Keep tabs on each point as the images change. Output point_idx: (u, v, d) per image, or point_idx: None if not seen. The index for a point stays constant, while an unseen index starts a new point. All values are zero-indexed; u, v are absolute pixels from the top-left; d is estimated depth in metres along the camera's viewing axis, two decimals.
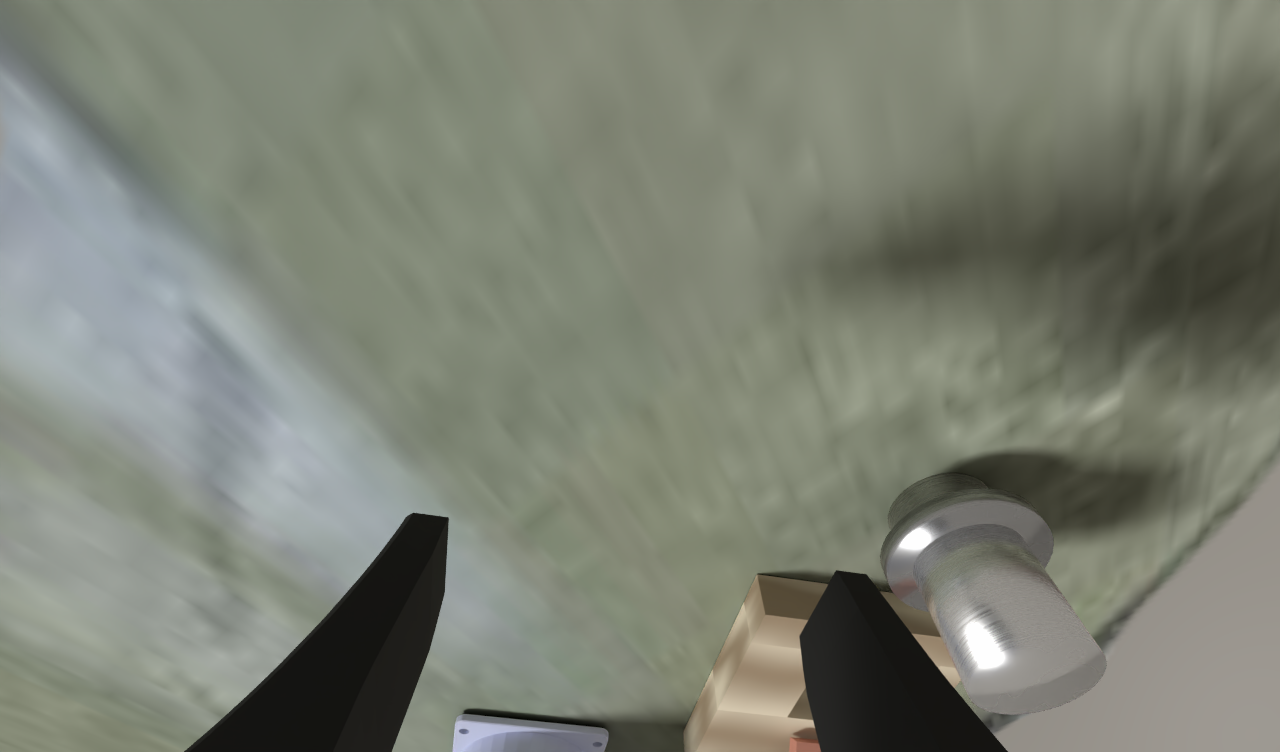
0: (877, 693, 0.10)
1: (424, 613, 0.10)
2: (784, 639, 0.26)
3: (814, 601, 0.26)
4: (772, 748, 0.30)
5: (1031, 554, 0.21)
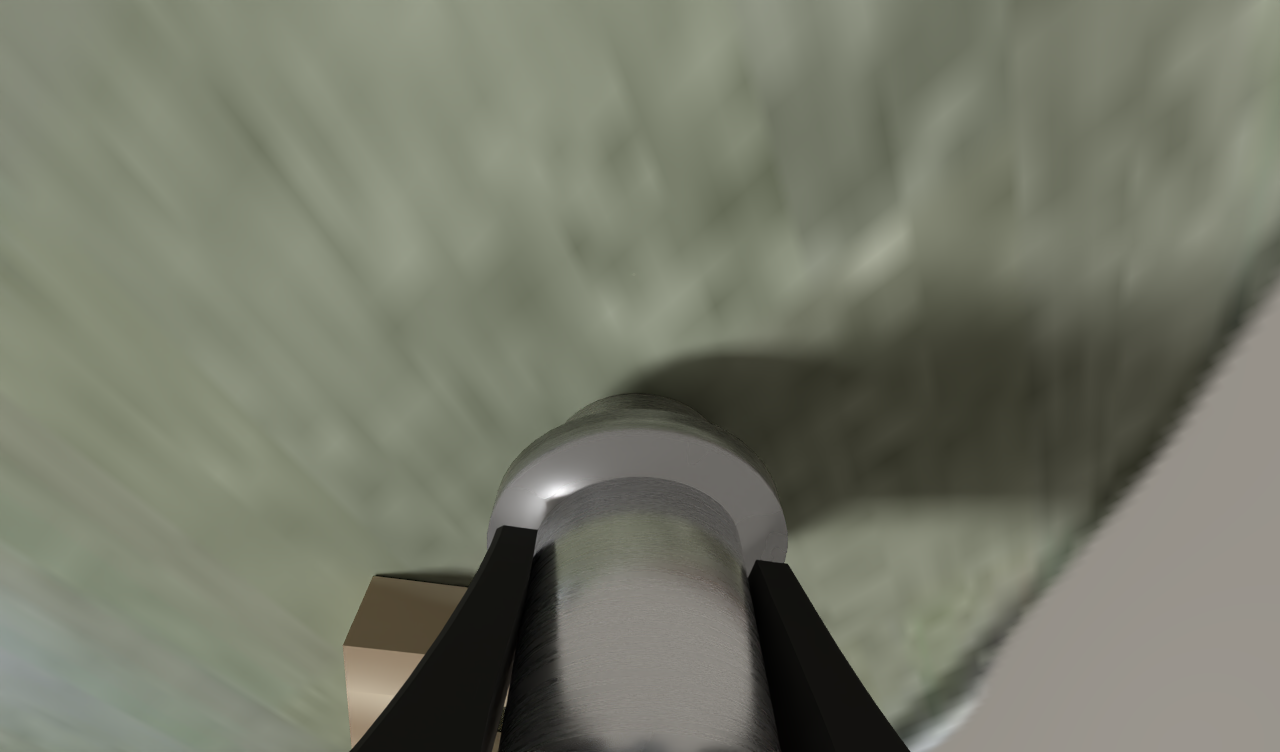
0: (783, 682, 0.09)
1: (519, 624, 0.10)
2: (400, 685, 0.15)
3: None
4: None
5: (705, 535, 0.10)
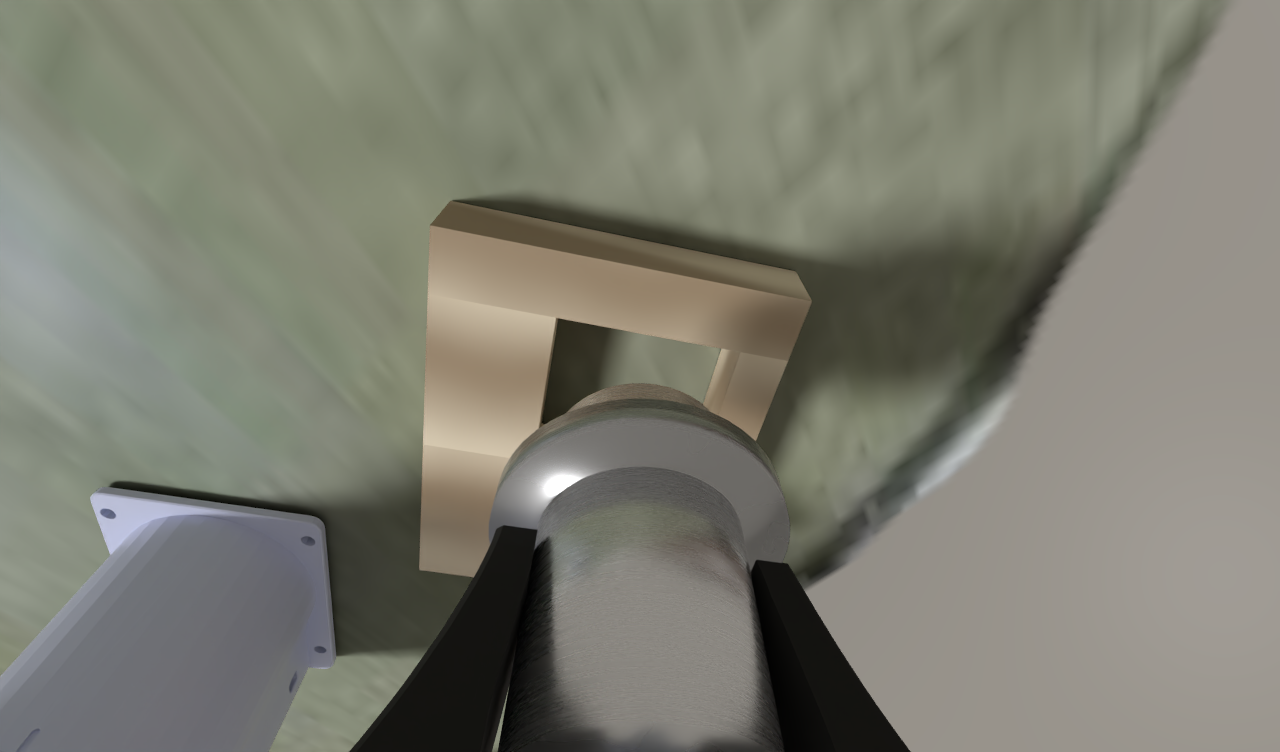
0: (783, 682, 0.09)
1: (519, 624, 0.10)
2: (479, 286, 0.16)
3: (531, 230, 0.16)
4: None
5: (707, 524, 0.10)
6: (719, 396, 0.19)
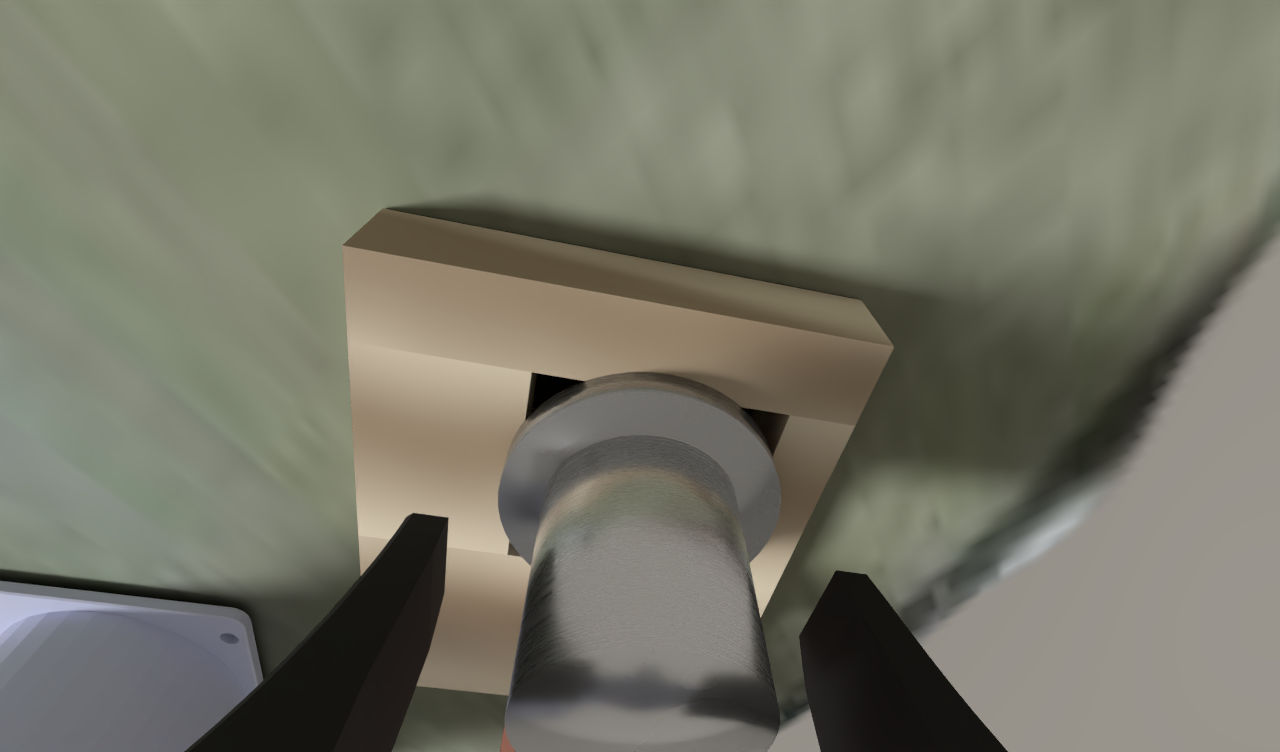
0: (877, 693, 0.10)
1: (424, 613, 0.10)
2: (420, 331, 0.11)
3: (494, 250, 0.12)
4: (506, 629, 0.16)
5: (703, 486, 0.11)
6: None
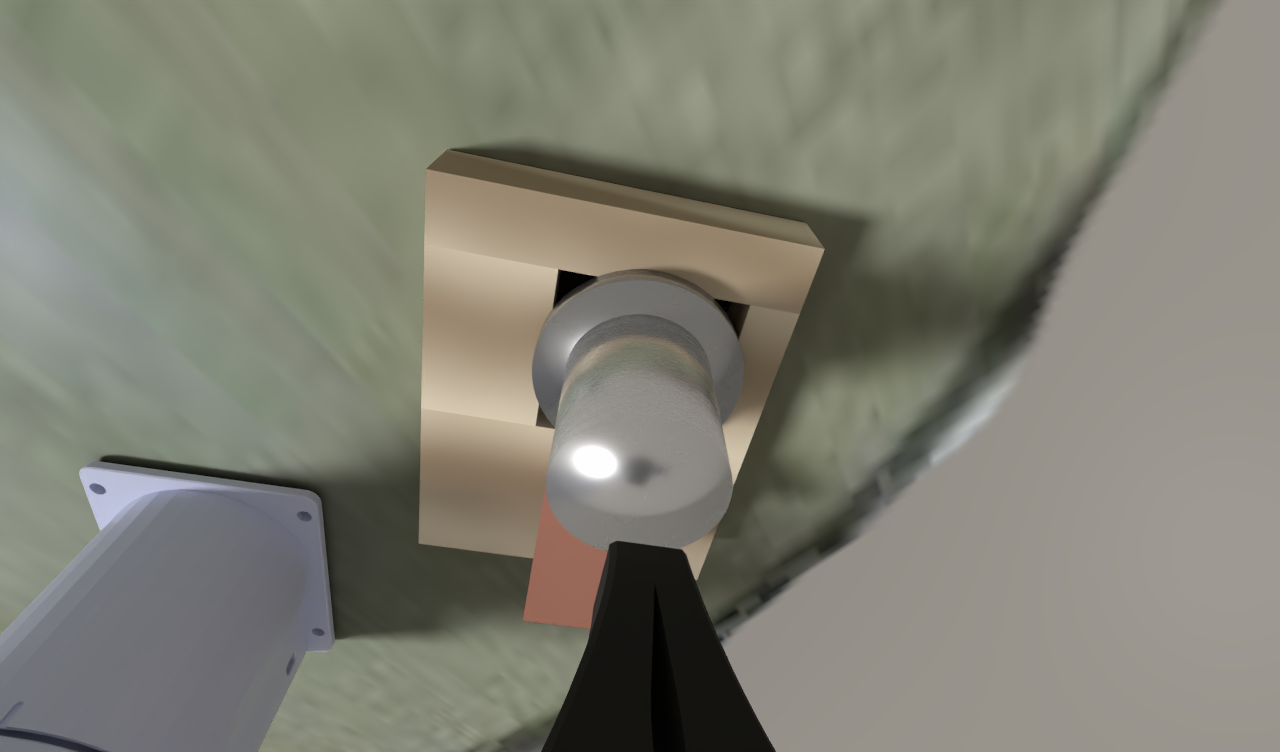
0: (657, 668, 0.09)
1: None
2: (477, 236, 0.16)
3: (531, 178, 0.16)
4: (532, 494, 0.20)
5: (683, 346, 0.15)
6: None
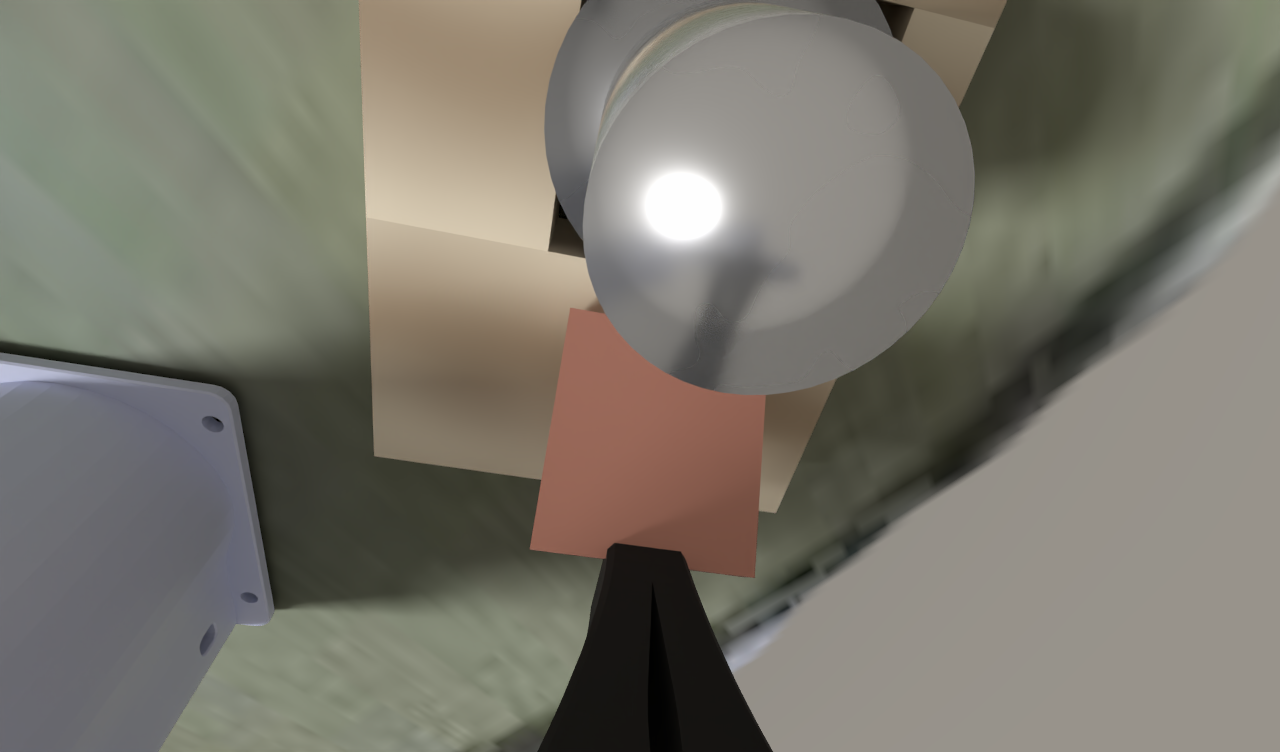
0: (654, 668, 0.09)
1: None
2: None
3: None
4: (541, 374, 0.13)
5: None
6: None
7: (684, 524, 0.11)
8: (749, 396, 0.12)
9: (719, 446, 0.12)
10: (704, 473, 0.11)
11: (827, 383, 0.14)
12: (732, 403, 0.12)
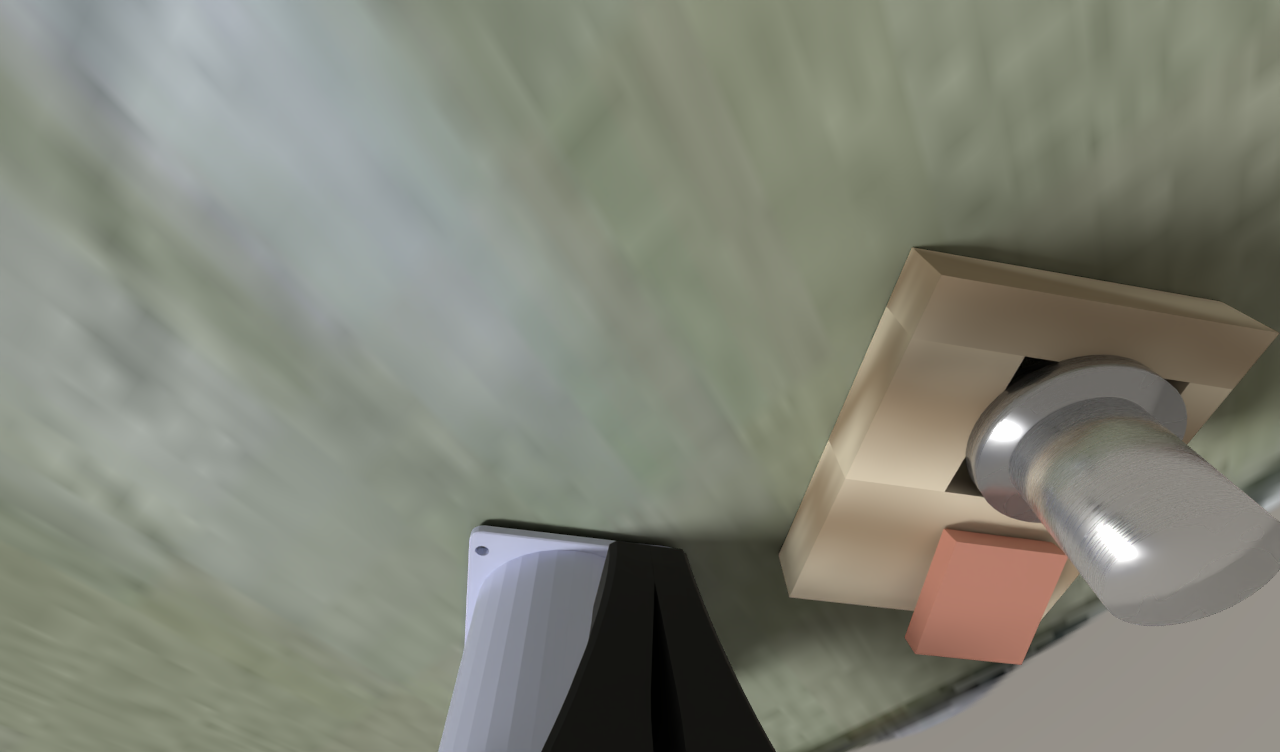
0: (657, 668, 0.09)
1: None
2: (963, 330, 0.17)
3: (1006, 274, 0.17)
4: (914, 552, 0.22)
5: (1167, 428, 0.16)
6: None
7: (992, 643, 0.21)
8: (1046, 584, 0.21)
9: (1021, 609, 0.21)
10: (1010, 621, 0.21)
11: None
12: (1035, 587, 0.21)
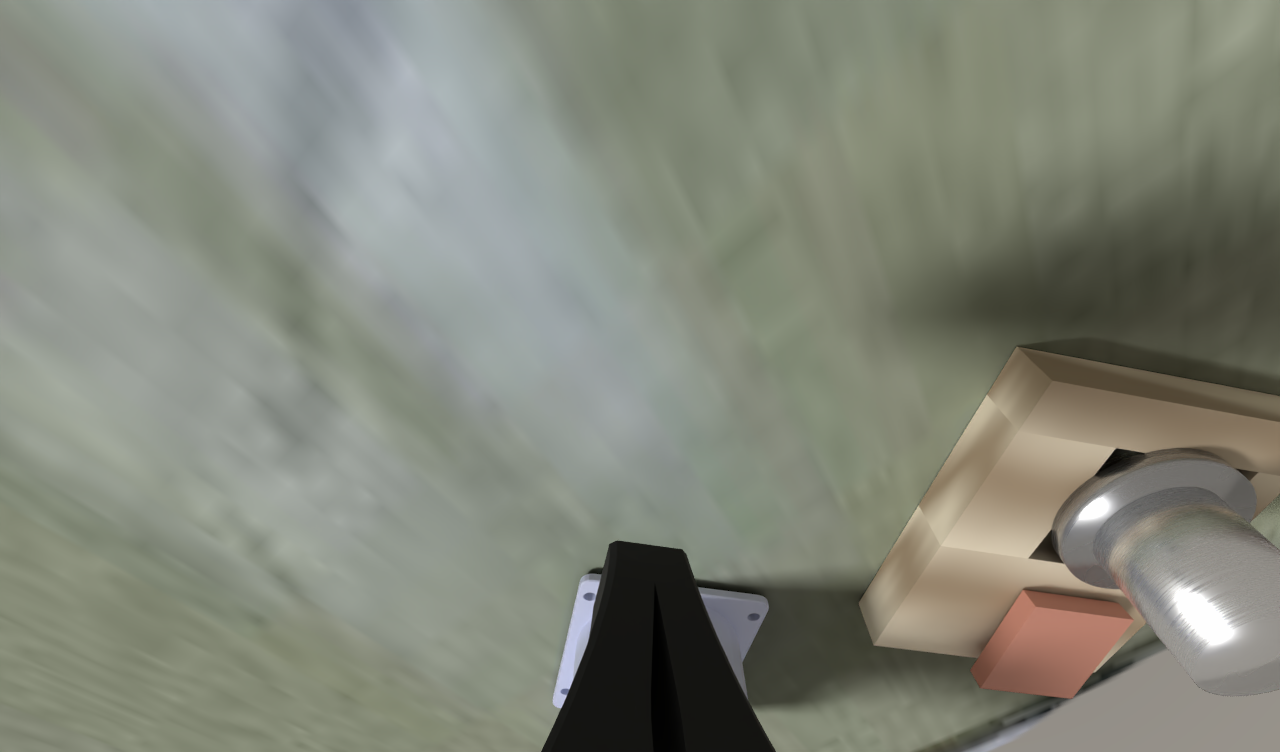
0: (657, 668, 0.09)
1: None
2: (1064, 425, 0.19)
3: (1102, 375, 0.19)
4: (993, 608, 0.24)
5: (1244, 518, 0.19)
6: None
7: (1050, 682, 0.24)
8: (1109, 640, 0.23)
9: (1082, 658, 0.24)
10: (1069, 667, 0.24)
11: None
12: (1098, 643, 0.23)
